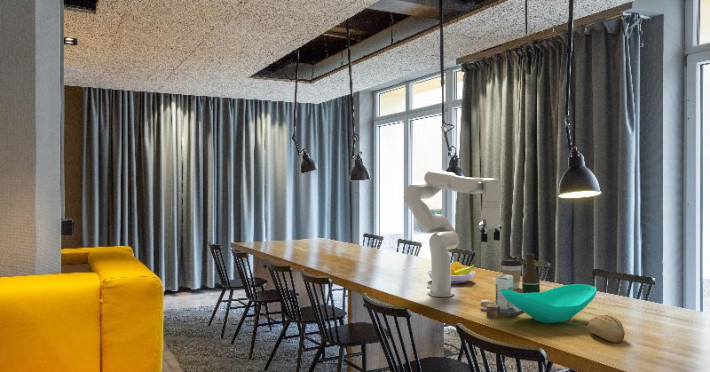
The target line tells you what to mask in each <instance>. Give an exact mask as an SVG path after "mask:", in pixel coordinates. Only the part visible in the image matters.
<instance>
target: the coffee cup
mask: <svg viewBox="0 0 710 372" xmlns="http://www.w3.org/2000/svg"><path fill="white" fill-rule="evenodd" d="M500 266H501V270H502V274H507V275H512V276H513V290H518V289H519V288H520V283H521V275H522V274H521V273H522V266H523V263H522V261H521V259H520V258H503V259H502V260H501V262H500Z"/></svg>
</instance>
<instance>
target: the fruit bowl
mask: <svg viewBox="0 0 710 372" xmlns="http://www.w3.org/2000/svg"><path fill="white" fill-rule="evenodd" d="M450 264H451V285H453V284H454V285H456V284H457V285H458V284H464V283H466V282H468V281H470V280H472V279H473V277H474V275H475V273H476V271H475V270H473V269H474V267H475V265H474V264H472V265H471V266H467V267H464V266H463V264H462V263H460V262H459V261H454V262H453V263H450ZM427 274H428V276H429V278H430V279H432V269H430V270H427Z"/></svg>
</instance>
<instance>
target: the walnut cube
mask: <svg viewBox="0 0 710 372" xmlns="http://www.w3.org/2000/svg"><path fill="white" fill-rule="evenodd" d="M485 307H486V318H494V319H498V318H499V317H500V316H501V314H500V305H495V304H494V305H492V304H489V305H488V306H485Z"/></svg>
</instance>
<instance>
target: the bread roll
mask: <svg viewBox="0 0 710 372" xmlns="http://www.w3.org/2000/svg"><path fill="white" fill-rule="evenodd" d="M622 323H623V322H621V321H620V319H618V318H616V317H615V316H611V315H607V314H605V315H604V314H602V315H598V316H594V317H592V318H591V319H590V320H589V322H588V323H587V330H588V332H590V333H591V334H593V335H595V336H597V337H599V338H601V339H604V340H606V341H608V342H610V343H616V344H618V343H621V342H622V341H623V340H624V339H625V335H626V332H625V329H624V325H623V324H622Z"/></svg>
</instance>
